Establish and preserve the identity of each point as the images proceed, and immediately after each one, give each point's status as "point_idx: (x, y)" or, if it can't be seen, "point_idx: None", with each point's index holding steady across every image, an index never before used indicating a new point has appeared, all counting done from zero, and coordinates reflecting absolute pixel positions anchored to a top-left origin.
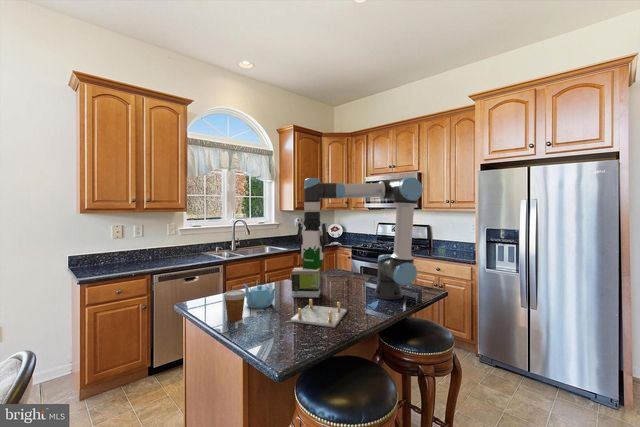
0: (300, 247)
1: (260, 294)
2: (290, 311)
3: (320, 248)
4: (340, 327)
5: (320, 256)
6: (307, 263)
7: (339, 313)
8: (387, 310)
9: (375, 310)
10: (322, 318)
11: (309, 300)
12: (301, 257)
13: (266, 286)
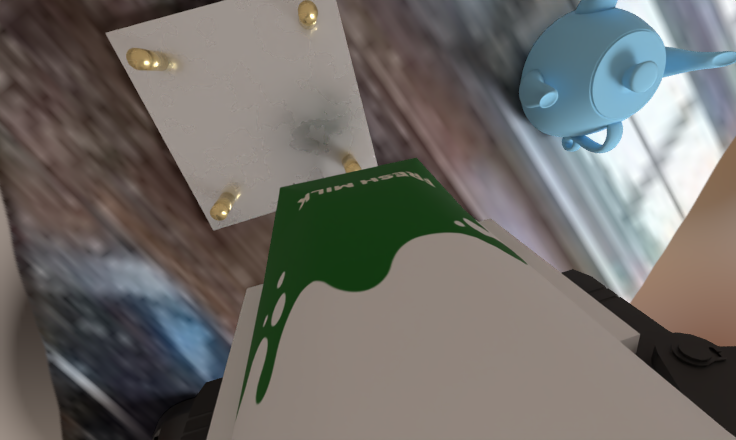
0: (615, 305)
1: (591, 39)
2: (408, 93)
3: (226, 416)
4: (94, 52)
5: (252, 312)
6: (370, 174)
7: (199, 171)
8: (102, 324)
9: (137, 299)
10: (213, 72)
11: (355, 162)
12: (496, 224)
13: (613, 140)
